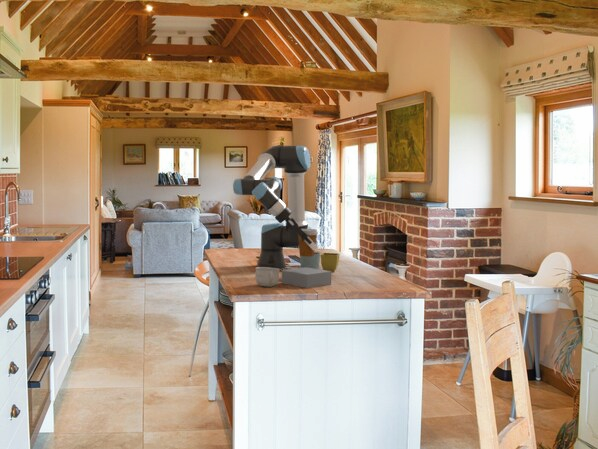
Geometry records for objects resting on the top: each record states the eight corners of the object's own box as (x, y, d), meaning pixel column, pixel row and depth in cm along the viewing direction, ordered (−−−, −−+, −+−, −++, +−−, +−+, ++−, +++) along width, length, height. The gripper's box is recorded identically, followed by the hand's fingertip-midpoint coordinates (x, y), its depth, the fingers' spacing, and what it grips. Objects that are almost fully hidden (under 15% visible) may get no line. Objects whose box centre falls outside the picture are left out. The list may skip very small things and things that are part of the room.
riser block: (281, 283, 299) (281, 270, 299) (305, 279, 311) (305, 267, 310) (307, 288, 288) (307, 274, 288) (331, 284, 300) (331, 271, 299)
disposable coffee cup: (319, 255, 301) (320, 229, 300) (313, 257, 292) (314, 231, 291) (300, 254, 304) (301, 228, 303) (293, 256, 295) (294, 229, 294)
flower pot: (336, 272, 335) (337, 255, 334) (319, 272, 337) (320, 254, 336) (339, 270, 344) (339, 253, 343) (322, 269, 345) (323, 252, 345)
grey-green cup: (305, 279, 312) (305, 254, 311) (295, 276, 321) (296, 251, 320) (323, 278, 317) (324, 253, 316) (313, 275, 326) (314, 251, 325)
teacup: (254, 283, 297) (255, 266, 296) (278, 283, 298) (279, 266, 297) (255, 289, 283) (255, 270, 282) (280, 289, 284) (281, 271, 283)
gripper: (272, 215, 306) (305, 250, 309) (275, 218, 285) (311, 256, 288) (284, 204, 306) (316, 239, 309) (288, 207, 285) (323, 244, 288)
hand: (314, 247), depth 298 cm, fingers closed on disposable coffee cup, 9 cm apart
